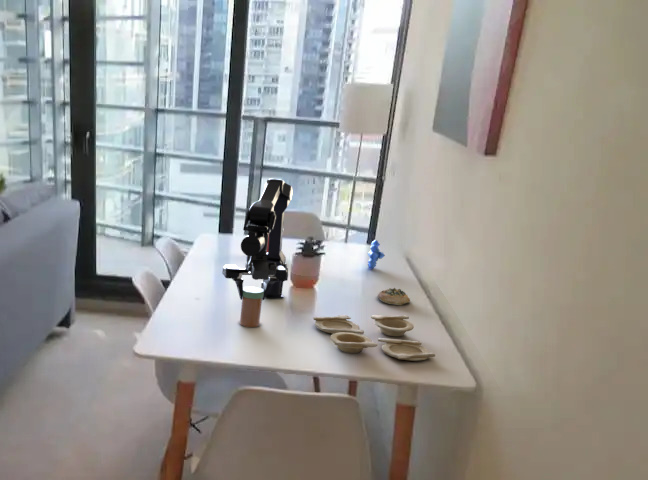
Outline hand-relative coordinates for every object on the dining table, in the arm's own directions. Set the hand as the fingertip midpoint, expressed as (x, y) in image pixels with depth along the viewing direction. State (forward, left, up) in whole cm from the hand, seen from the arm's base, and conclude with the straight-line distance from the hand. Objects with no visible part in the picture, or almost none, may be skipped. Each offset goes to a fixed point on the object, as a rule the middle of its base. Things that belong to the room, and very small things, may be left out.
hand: (252, 299), depth 218 cm
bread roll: (-61, -15, -8) cm, 63 cm away
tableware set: (-30, +20, -8) cm, 37 cm away
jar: (0, 0, -8) cm, 8 cm away
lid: (0, 0, +3) cm, 3 cm away
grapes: (-79, -56, -8) cm, 97 cm away
